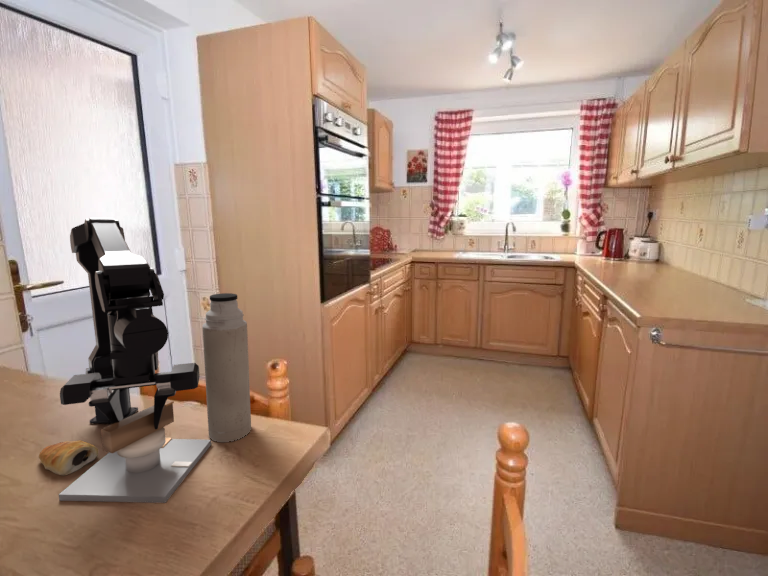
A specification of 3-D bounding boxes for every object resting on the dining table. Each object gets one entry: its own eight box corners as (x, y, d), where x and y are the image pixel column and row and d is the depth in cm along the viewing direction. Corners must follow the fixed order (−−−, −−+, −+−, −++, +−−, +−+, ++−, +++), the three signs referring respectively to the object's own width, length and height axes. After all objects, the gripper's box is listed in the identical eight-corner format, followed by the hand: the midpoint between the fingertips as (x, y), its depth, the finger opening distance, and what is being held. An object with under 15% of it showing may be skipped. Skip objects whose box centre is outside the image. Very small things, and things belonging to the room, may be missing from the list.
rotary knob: (94, 458, 64) (90, 424, 63) (157, 426, 74) (155, 396, 74) (124, 469, 62) (120, 433, 61) (185, 434, 72) (183, 403, 71)
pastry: (26, 467, 69) (24, 446, 69) (68, 447, 75) (66, 428, 75) (64, 479, 66) (61, 458, 65) (104, 457, 72) (102, 437, 72)
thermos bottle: (221, 420, 86) (214, 290, 81) (257, 423, 85) (252, 291, 80) (200, 441, 78) (191, 297, 73) (240, 443, 77) (234, 299, 72)
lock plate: (127, 442, 77) (125, 423, 76) (211, 444, 77) (210, 424, 76) (59, 500, 61) (56, 476, 60) (165, 502, 61) (163, 478, 60)
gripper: (198, 323, 76) (203, 402, 78) (78, 332, 69) (88, 418, 72) (194, 340, 65) (200, 430, 68) (52, 352, 59) (65, 451, 61)
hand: (139, 430), depth 67 cm, fingers closed on rotary knob, 5 cm apart
